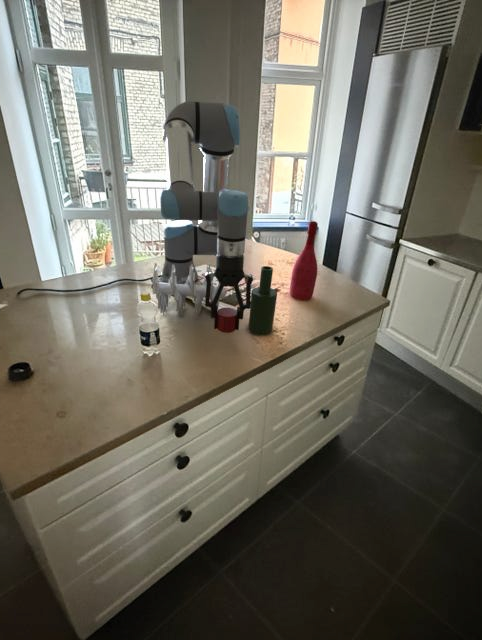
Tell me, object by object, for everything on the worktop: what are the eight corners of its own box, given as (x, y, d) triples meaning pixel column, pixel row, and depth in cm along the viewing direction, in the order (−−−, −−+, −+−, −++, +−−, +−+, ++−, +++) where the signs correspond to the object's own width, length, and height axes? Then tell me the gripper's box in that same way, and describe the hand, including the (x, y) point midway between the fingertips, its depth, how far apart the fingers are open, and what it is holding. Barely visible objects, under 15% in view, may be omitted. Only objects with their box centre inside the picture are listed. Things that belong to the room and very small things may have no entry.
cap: (216, 332, 111) (217, 316, 108) (216, 322, 116) (217, 307, 113) (236, 333, 112) (237, 317, 109) (235, 323, 117) (236, 307, 113)
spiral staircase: (222, 328, 134) (152, 324, 131) (222, 291, 143) (156, 286, 140) (228, 296, 119) (148, 290, 115) (227, 256, 127) (153, 249, 124)
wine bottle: (311, 292, 156) (325, 219, 139) (313, 302, 148) (328, 226, 131) (288, 290, 157) (299, 217, 140) (288, 300, 149) (300, 223, 132)
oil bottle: (249, 335, 124) (255, 272, 111) (247, 323, 131) (253, 262, 118) (273, 336, 124) (281, 273, 112) (270, 324, 131) (278, 264, 119)
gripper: (194, 256, 97) (194, 332, 110) (266, 260, 98) (257, 334, 111) (196, 247, 103) (196, 319, 116) (264, 251, 104) (256, 322, 117)
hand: (226, 327), depth 114 cm, fingers closed on cap, 6 cm apart
